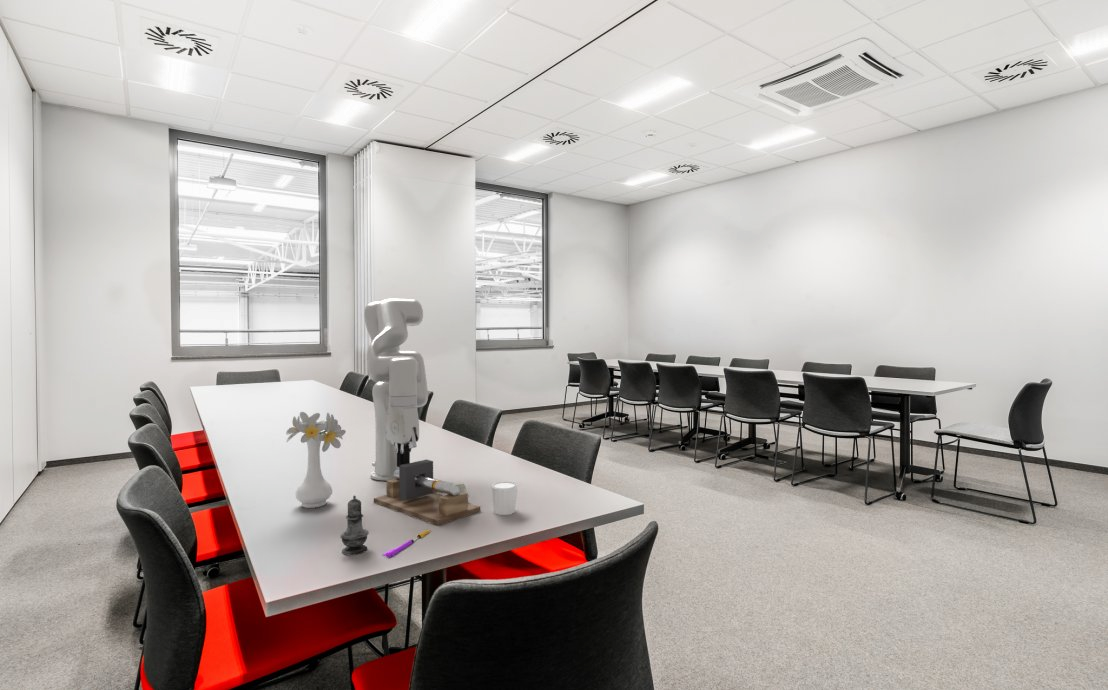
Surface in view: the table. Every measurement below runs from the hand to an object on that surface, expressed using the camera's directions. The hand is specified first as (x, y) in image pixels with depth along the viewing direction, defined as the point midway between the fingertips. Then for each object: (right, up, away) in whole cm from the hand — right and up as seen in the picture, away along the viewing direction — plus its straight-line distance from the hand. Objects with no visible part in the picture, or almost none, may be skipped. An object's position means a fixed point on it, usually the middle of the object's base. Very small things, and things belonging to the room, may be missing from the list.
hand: (403, 466), depth 154 cm
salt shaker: (-1, -11, -35) cm, 37 cm away
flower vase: (-22, -10, -5) cm, 25 cm away
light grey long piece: (+10, -10, +3) cm, 14 cm away
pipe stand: (+8, -10, -6) cm, 14 cm away
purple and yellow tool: (+10, -11, -31) cm, 34 cm away
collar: (+5, -7, -4) cm, 9 cm away
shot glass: (+29, -10, -10) cm, 33 cm away
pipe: (+8, -4, -6) cm, 11 cm away
